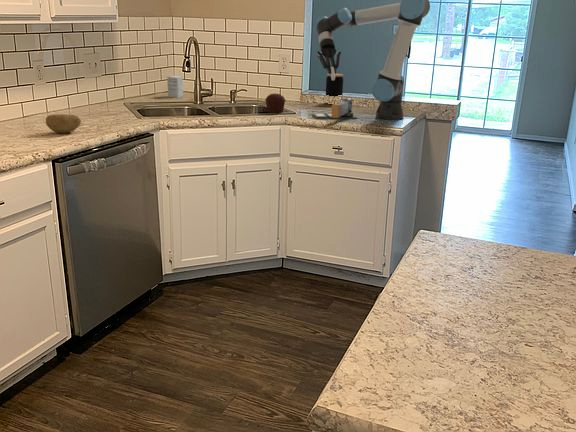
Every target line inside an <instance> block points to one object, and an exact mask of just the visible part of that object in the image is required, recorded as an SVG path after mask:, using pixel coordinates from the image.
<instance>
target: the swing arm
mask: <svg viewBox="0 0 576 432" xmlns="http://www.w3.org/2000/svg"><path fill="white" fill-rule="evenodd" d="M353 101H354V100H353V98H350V97H346V98H345V97H344V98H342V102H340V103H337V104H331V114H332V115H331V117H335V118H338V117H339V116H342V115H344V114H347V113H351V112H352V111H353Z"/></svg>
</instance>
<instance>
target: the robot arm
mask: <svg viewBox="0 0 576 432" xmlns="http://www.w3.org/2000/svg"><path fill="white" fill-rule="evenodd" d="M430 2H431V1H429V0H401V1H400V2H398V3H393V4H385V5H381V6H376V7H375V6H374V7H370V8H364V9H359V10H352V11H350V10H349V9H348V8H347V7H343V8H342V9H339V10H338V11H336V12H335V13H334V14H332V15H331V16H329V17H328V16H326V15H325V16H324V15H323V16H320V17H318V18H317V20H316V21H315V25H316V31H317V36H318V43H319V47H320V50H319V51H317V53H316V57H317V58H318V59H319V61H320V63H321V65H322V67H323V69H326V70H327V72H328V73H327V74H330V75H331V80H335V77H336V76H335V74H337V70H338V68H339V66H340V56H341V54H342V52H341V51H337V49H336V46H335V41H334V36H333V32H335V31H337V30H339V29H340V28H342V27H343V28H350V27H351V28H352V27H354V26H361V25H367V24H374V23H379V22H385V21H392V20H397V21H398V25H397V29H396V31H395V34H394V38H393V41H392V43H391V45H390V46H391V47H390V49H389V53H388V55H387V58H386V60H385V64H384V66H383V69H382V70H380V71H379V73H378V75H377V77H376V80H375V81H374V82H373V84H372V86H371V94H372V96H373V98H374V99H375V100H377V101H379V104H378V107H377V110H376V112H375V118H378V119H383V120H390V121H391V120H395V121H397V119H399V120H403V119H404V117H405V116H404V114H405V113H404V109H403V105H402V104H403V101H402V100H403V92H404V84H405V78H404V76H403V75H400V73H401V71H402V68H403V65H404V63H405V59H406V57H407V55H408V51H409V48H410V45H411V42H412V39H413V37H414V35H415V31H416V29H417V28H418V27H420V26H421V23H422V21H423V18H425V17H426V16H427V15H428V14H429V12H430V9H431V3H430ZM335 56H336V60H335Z"/></svg>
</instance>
